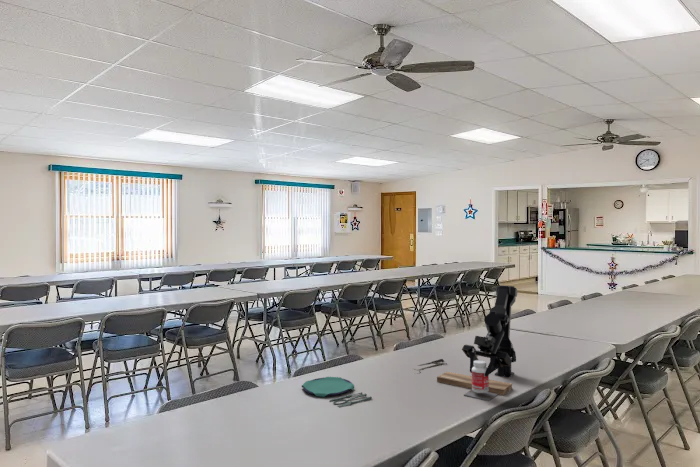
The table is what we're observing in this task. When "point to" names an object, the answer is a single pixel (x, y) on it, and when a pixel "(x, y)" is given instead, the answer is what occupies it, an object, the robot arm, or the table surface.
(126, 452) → the table surface
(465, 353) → the robot arm
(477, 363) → the pill bottle
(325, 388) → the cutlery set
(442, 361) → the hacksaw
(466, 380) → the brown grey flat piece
